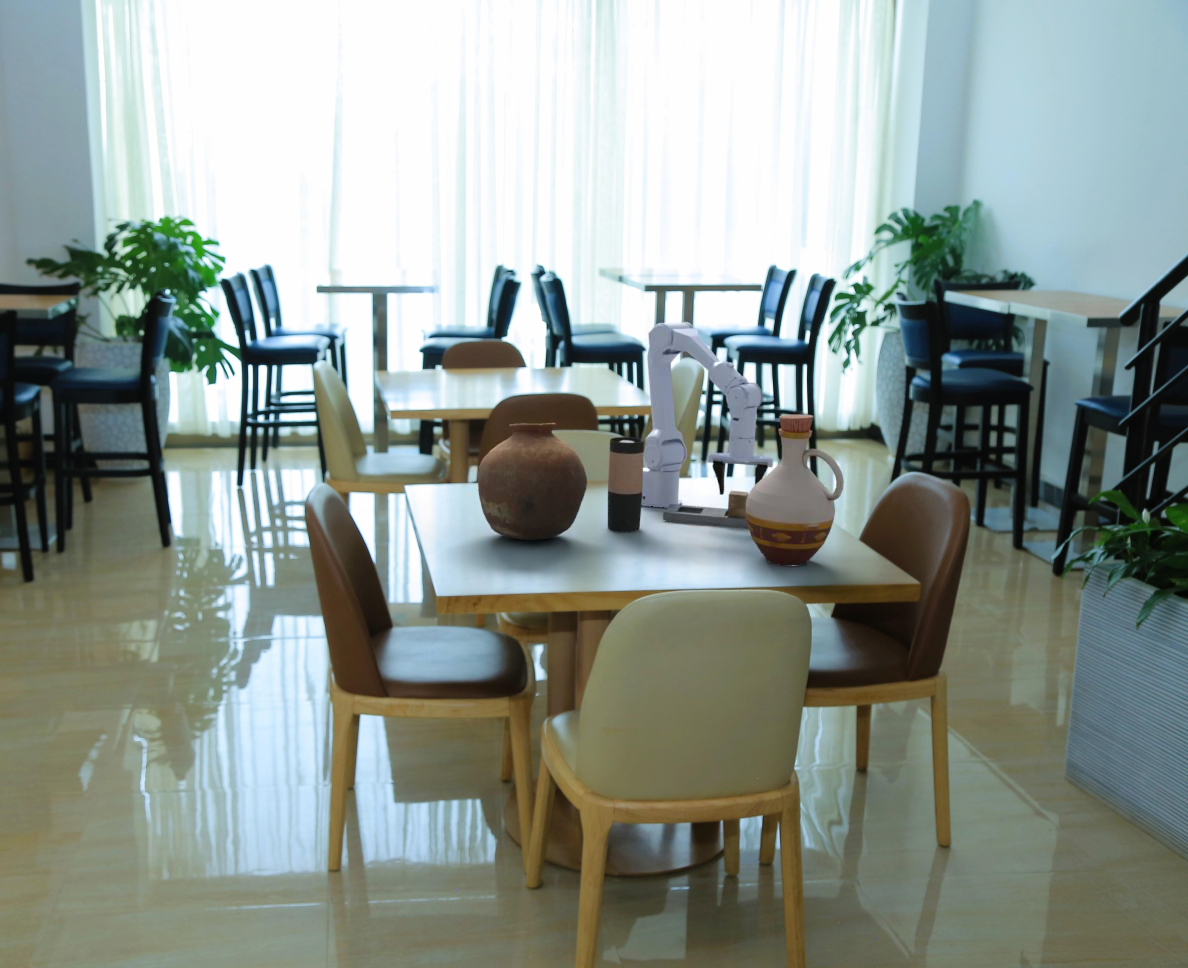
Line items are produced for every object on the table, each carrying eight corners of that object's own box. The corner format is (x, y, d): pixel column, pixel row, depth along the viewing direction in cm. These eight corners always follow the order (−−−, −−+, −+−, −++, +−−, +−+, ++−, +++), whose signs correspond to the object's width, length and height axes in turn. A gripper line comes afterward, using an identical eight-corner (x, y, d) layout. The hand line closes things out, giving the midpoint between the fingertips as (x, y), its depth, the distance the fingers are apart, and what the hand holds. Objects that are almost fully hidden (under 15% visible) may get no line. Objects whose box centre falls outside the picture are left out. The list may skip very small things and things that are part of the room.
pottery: (538, 557, 238) (541, 434, 233) (454, 537, 251) (455, 420, 246) (606, 537, 256) (610, 422, 251) (524, 519, 269) (526, 410, 264)
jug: (851, 560, 244) (862, 415, 238) (821, 579, 229) (832, 426, 223) (762, 545, 254) (771, 405, 247) (728, 563, 239) (736, 415, 232)
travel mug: (600, 529, 262) (603, 440, 258) (615, 522, 269) (619, 435, 265) (631, 534, 259) (635, 444, 255) (646, 527, 266) (650, 439, 262)
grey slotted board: (663, 520, 272) (663, 512, 272) (669, 512, 281) (670, 504, 281) (759, 529, 268) (759, 520, 267) (763, 520, 276) (763, 511, 276)
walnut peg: (727, 524, 272) (728, 494, 270) (729, 520, 275) (731, 490, 274) (744, 525, 271) (746, 495, 269) (746, 521, 274) (748, 492, 273)
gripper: (707, 437, 267) (704, 496, 270) (772, 442, 264) (768, 501, 266) (712, 432, 274) (708, 489, 276) (775, 437, 270) (771, 495, 273)
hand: (738, 495), depth 272 cm, fingers open, 7 cm apart
